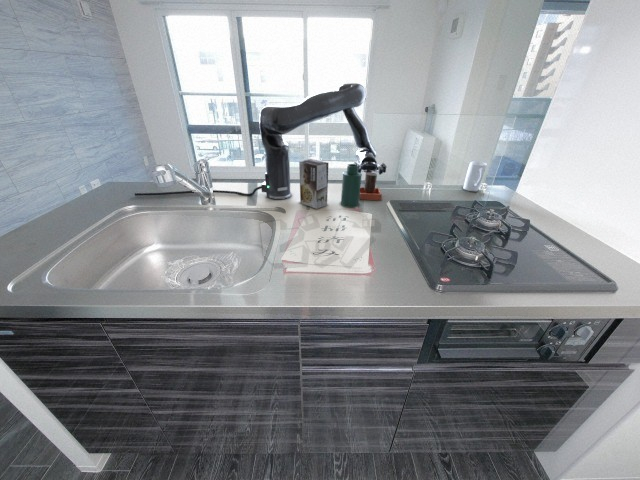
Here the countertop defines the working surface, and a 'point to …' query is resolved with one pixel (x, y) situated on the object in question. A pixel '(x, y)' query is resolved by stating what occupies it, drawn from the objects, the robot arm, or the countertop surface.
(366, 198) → the tray
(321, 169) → the coffee box
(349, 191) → the flask
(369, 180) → the stopper
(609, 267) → the countertop surface
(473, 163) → the mug
